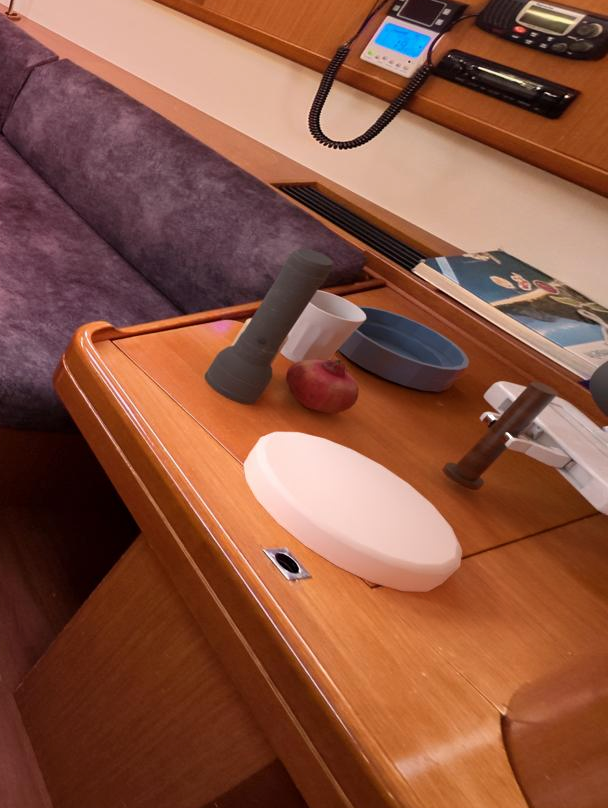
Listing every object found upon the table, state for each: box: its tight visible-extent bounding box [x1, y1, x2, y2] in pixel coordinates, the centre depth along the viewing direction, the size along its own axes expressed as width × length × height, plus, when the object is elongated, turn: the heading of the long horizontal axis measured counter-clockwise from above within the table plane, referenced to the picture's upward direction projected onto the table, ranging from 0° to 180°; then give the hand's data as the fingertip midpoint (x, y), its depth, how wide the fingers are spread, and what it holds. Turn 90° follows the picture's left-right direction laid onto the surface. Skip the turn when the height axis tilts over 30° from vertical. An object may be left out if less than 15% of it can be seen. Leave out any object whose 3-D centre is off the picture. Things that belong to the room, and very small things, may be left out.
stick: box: [441, 381, 559, 491], centre depth 86 cm, size 4×4×18 cm
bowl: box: [337, 305, 470, 392], centre depth 111 cm, size 15×15×6 cm
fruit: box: [285, 358, 360, 414], centre depth 101 cm, size 8×8×10 cm
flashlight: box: [204, 247, 334, 405], centre depth 99 cm, size 7×28×7 cm
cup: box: [279, 289, 366, 364], centre depth 110 cm, size 8×8×12 cm
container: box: [242, 431, 463, 593], centre depth 85 cm, size 20×20×5 cm
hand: (495, 429), depth 86 cm, fingers closed on stick, 2 cm apart
